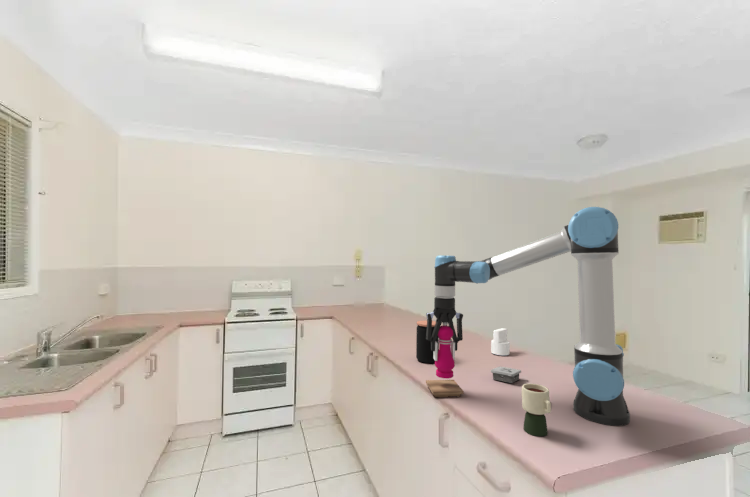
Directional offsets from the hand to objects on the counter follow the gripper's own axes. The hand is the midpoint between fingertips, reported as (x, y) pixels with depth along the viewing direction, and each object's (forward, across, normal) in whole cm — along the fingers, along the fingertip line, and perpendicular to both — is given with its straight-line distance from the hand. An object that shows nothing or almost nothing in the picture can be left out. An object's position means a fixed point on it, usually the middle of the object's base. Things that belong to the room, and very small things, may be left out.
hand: (444, 359), depth 127 cm
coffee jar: (+12, -3, -38) cm, 40 cm away
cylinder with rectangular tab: (+12, -44, -48) cm, 66 cm away
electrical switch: (+12, -32, -8) cm, 35 cm away
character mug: (+12, -18, +30) cm, 37 cm away
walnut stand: (+12, 0, 0) cm, 12 cm away
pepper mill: (+6, 0, 0) cm, 6 cm away
